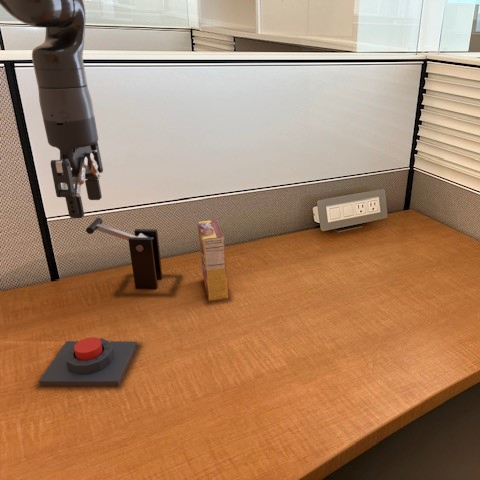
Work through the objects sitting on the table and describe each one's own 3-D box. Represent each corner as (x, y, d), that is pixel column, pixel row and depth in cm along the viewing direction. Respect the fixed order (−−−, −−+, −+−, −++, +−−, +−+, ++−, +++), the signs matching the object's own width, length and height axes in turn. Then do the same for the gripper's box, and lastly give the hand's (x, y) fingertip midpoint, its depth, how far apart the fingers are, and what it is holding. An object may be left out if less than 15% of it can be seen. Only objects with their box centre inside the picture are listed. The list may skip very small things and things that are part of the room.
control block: (40, 389, 75) (36, 372, 73) (68, 349, 84) (64, 332, 82) (119, 389, 76) (116, 372, 74) (138, 349, 85) (135, 333, 83)
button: (71, 361, 76) (69, 352, 76) (81, 345, 80) (80, 337, 79) (97, 361, 77) (95, 352, 76) (106, 345, 80) (104, 337, 80)
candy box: (202, 284, 105) (197, 220, 99) (221, 282, 107) (218, 218, 100) (207, 306, 98) (202, 238, 91) (228, 303, 99) (225, 236, 92)
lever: (84, 234, 94) (87, 224, 93) (94, 224, 99) (96, 214, 98) (145, 254, 97) (148, 244, 96) (152, 243, 101) (155, 234, 100)
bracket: (117, 297, 99) (108, 242, 94) (129, 278, 106) (121, 225, 101) (171, 298, 100) (165, 243, 94) (179, 279, 107) (174, 226, 101)
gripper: (63, 106, 84) (80, 194, 91) (22, 123, 71) (46, 224, 78) (107, 107, 84) (121, 194, 91) (75, 124, 71) (94, 224, 78)
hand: (86, 208), depth 84 cm, fingers open, 8 cm apart
